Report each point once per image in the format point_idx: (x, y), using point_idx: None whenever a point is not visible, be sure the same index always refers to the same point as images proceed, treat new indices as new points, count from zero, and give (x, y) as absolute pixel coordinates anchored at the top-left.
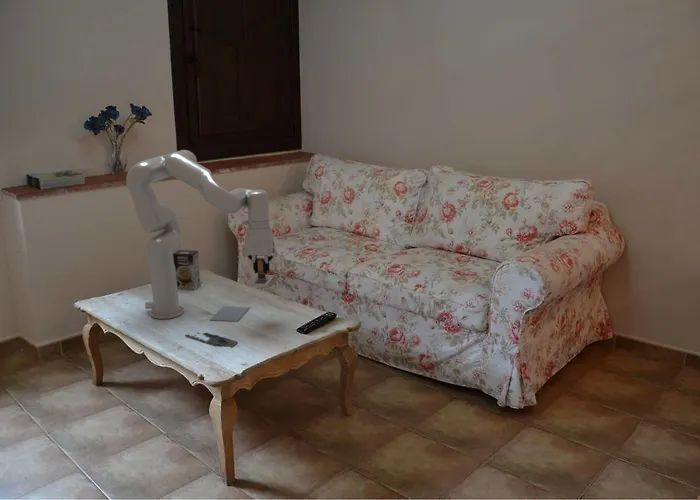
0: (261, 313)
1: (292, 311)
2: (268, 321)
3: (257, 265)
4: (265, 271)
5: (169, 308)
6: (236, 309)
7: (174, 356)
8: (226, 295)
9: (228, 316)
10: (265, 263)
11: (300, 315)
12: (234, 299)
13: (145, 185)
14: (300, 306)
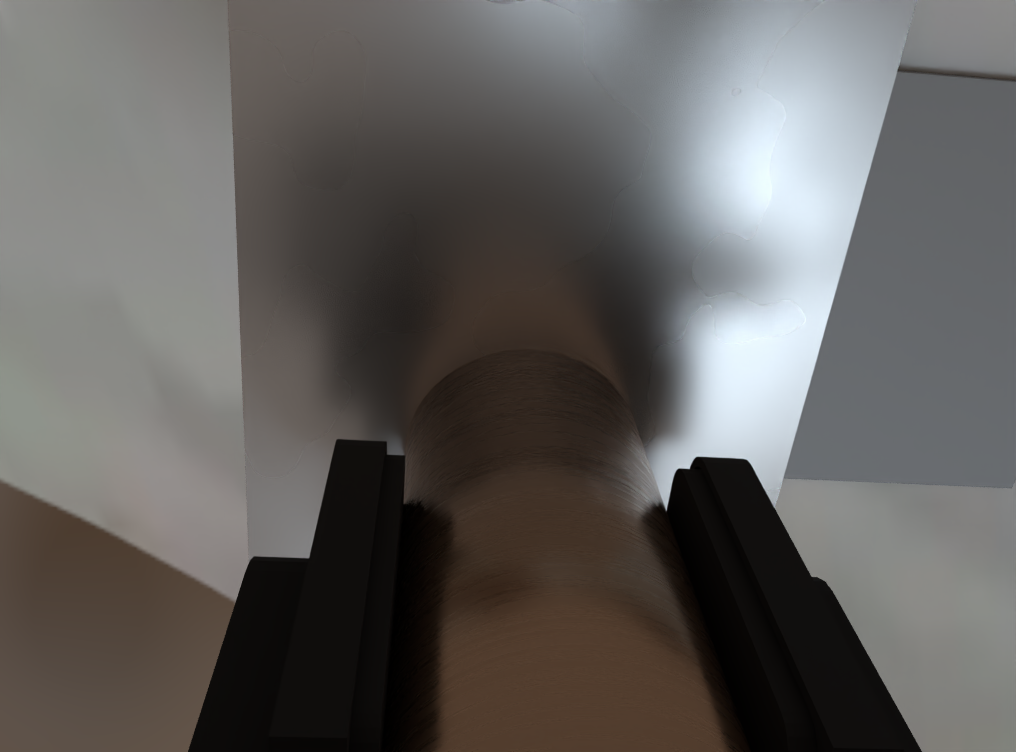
0: None
1: (207, 412)
2: None
3: (704, 665)
4: (346, 478)
5: None
6: (860, 411)
7: None
8: (977, 733)
9: (942, 203)
10: (274, 750)
11: (65, 303)
12: (896, 659)
13: None
14: (164, 543)
